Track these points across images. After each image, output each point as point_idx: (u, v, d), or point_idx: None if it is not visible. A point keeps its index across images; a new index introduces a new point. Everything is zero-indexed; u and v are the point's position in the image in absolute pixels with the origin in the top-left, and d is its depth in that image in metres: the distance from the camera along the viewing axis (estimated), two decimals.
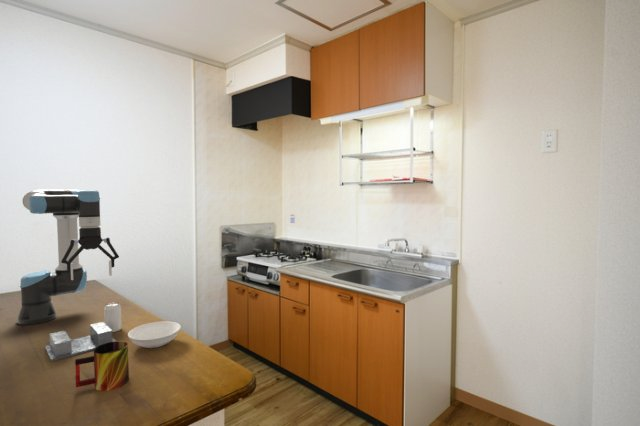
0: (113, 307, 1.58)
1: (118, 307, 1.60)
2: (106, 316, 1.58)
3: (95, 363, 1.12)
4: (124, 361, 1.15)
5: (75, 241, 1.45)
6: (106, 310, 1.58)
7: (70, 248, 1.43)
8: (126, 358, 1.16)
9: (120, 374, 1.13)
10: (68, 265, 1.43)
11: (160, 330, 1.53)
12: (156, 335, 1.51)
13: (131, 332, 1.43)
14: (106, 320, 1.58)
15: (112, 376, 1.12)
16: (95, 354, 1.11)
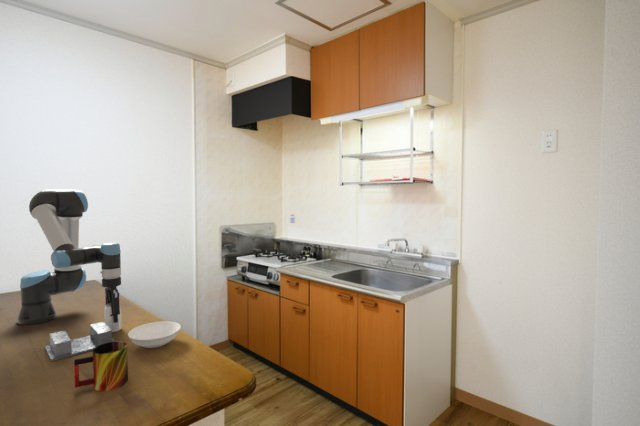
0: None
1: None
2: (106, 316, 1.58)
3: (94, 363, 1.12)
4: (123, 361, 1.15)
5: None
6: (106, 310, 1.58)
7: (105, 295, 1.64)
8: (125, 358, 1.16)
9: (119, 374, 1.13)
10: None
11: (160, 330, 1.53)
12: (156, 335, 1.51)
13: (131, 332, 1.43)
14: (106, 320, 1.58)
15: (111, 376, 1.12)
16: (94, 354, 1.11)
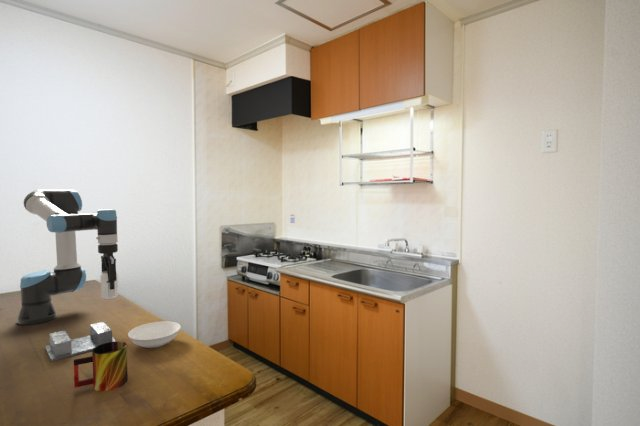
0: None
1: None
2: (102, 283, 1.55)
3: (94, 363, 1.12)
4: (123, 361, 1.15)
5: None
6: (102, 277, 1.55)
7: None
8: (125, 358, 1.16)
9: (119, 374, 1.13)
10: None
11: (160, 330, 1.53)
12: (156, 335, 1.51)
13: (131, 332, 1.43)
14: (102, 287, 1.55)
15: (110, 376, 1.12)
16: (94, 354, 1.11)
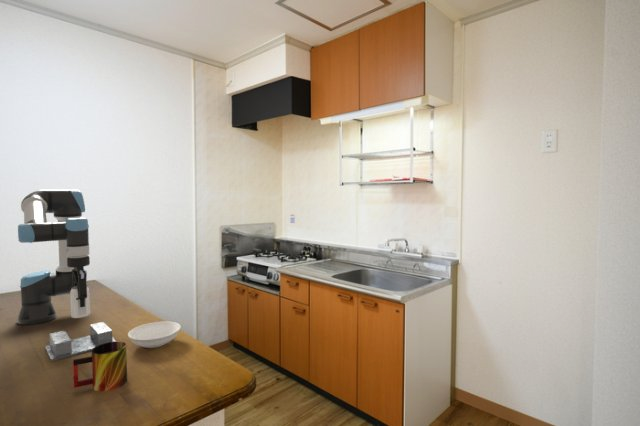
0: None
1: None
2: (72, 300, 1.40)
3: (93, 363, 1.11)
4: (122, 361, 1.15)
5: None
6: (72, 293, 1.40)
7: (72, 277, 1.46)
8: (124, 358, 1.16)
9: (118, 374, 1.13)
10: None
11: (160, 330, 1.53)
12: (156, 335, 1.51)
13: (131, 332, 1.43)
14: (72, 304, 1.40)
15: (110, 376, 1.11)
16: (93, 354, 1.11)
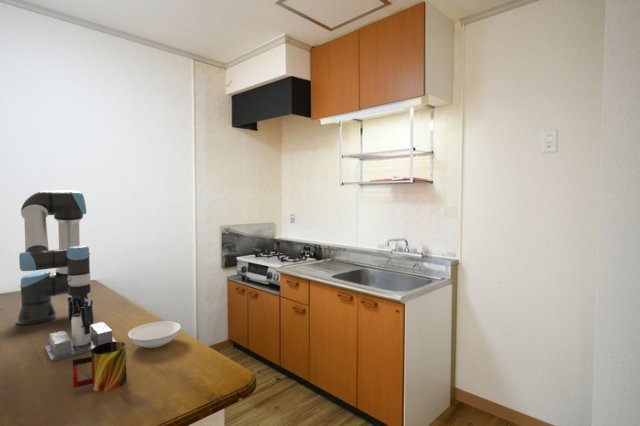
0: None
1: None
2: (75, 328, 1.41)
3: (93, 363, 1.11)
4: (122, 361, 1.14)
5: (71, 298, 1.45)
6: (75, 321, 1.41)
7: (69, 306, 1.45)
8: (124, 358, 1.16)
9: (118, 374, 1.13)
10: None
11: (160, 330, 1.53)
12: (156, 335, 1.51)
13: (131, 332, 1.43)
14: (75, 333, 1.41)
15: (109, 376, 1.11)
16: (92, 354, 1.11)
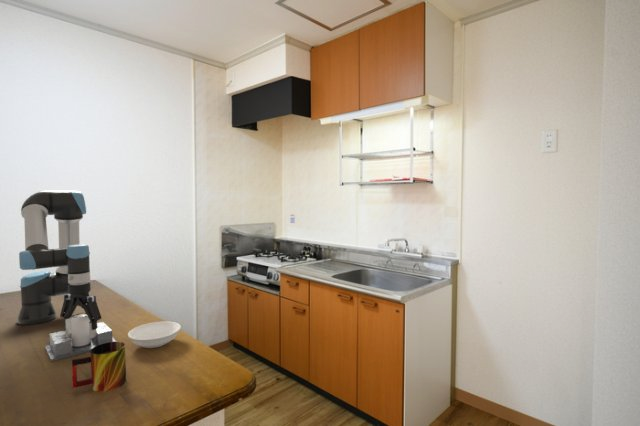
0: (85, 317, 1.43)
1: None
2: (77, 329, 1.41)
3: (92, 364, 1.11)
4: (121, 361, 1.14)
5: (68, 296, 1.44)
6: (77, 322, 1.41)
7: (64, 303, 1.44)
8: (123, 358, 1.16)
9: (117, 374, 1.13)
10: None
11: (160, 330, 1.53)
12: (156, 335, 1.51)
13: (131, 332, 1.43)
14: (77, 333, 1.41)
15: (109, 376, 1.11)
16: (92, 354, 1.11)
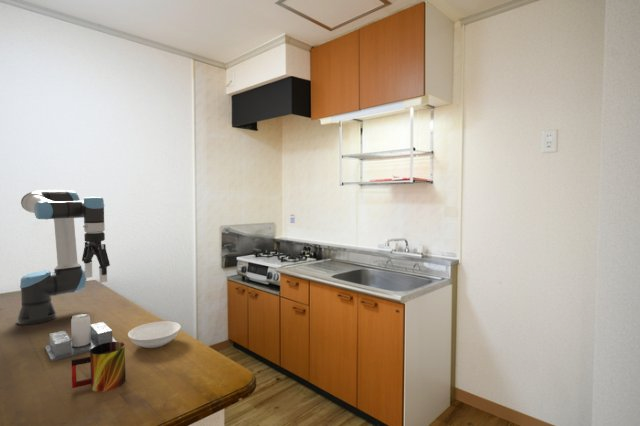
0: (85, 317, 1.43)
1: (89, 317, 1.45)
2: (77, 329, 1.41)
3: (91, 364, 1.11)
4: (121, 362, 1.14)
5: None
6: (77, 322, 1.41)
7: (84, 249, 1.59)
8: (123, 359, 1.15)
9: (117, 374, 1.13)
10: None
11: (160, 330, 1.53)
12: (156, 335, 1.51)
13: (131, 332, 1.43)
14: (77, 333, 1.41)
15: (108, 376, 1.11)
16: (91, 355, 1.11)
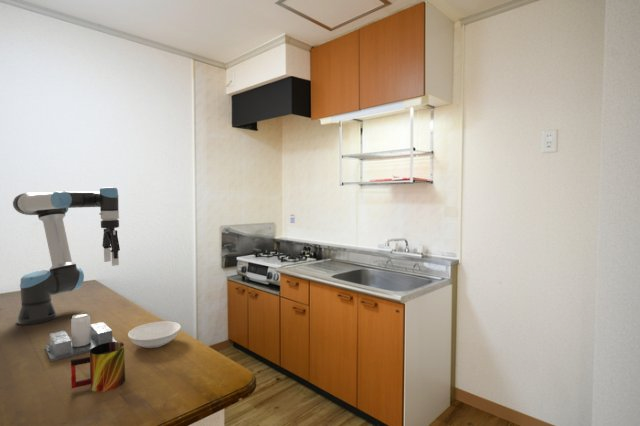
0: (85, 318, 1.43)
1: (89, 317, 1.45)
2: (77, 329, 1.41)
3: (91, 364, 1.11)
4: (120, 362, 1.14)
5: (106, 230, 1.73)
6: (77, 322, 1.41)
7: (103, 235, 1.74)
8: (122, 359, 1.15)
9: (116, 374, 1.13)
10: (104, 249, 1.75)
11: (160, 330, 1.53)
12: (156, 335, 1.51)
13: (131, 332, 1.43)
14: (77, 333, 1.41)
15: (108, 376, 1.11)
16: (91, 355, 1.11)
